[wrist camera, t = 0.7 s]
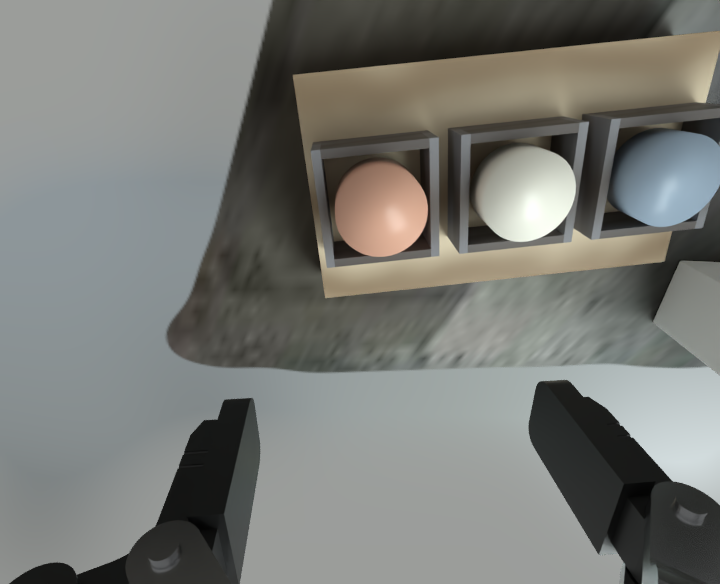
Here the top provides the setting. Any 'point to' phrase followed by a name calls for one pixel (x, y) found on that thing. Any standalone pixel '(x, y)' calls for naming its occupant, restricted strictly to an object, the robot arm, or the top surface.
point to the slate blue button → (664, 176)
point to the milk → (694, 310)
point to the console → (493, 130)
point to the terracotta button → (380, 207)
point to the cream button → (522, 191)
